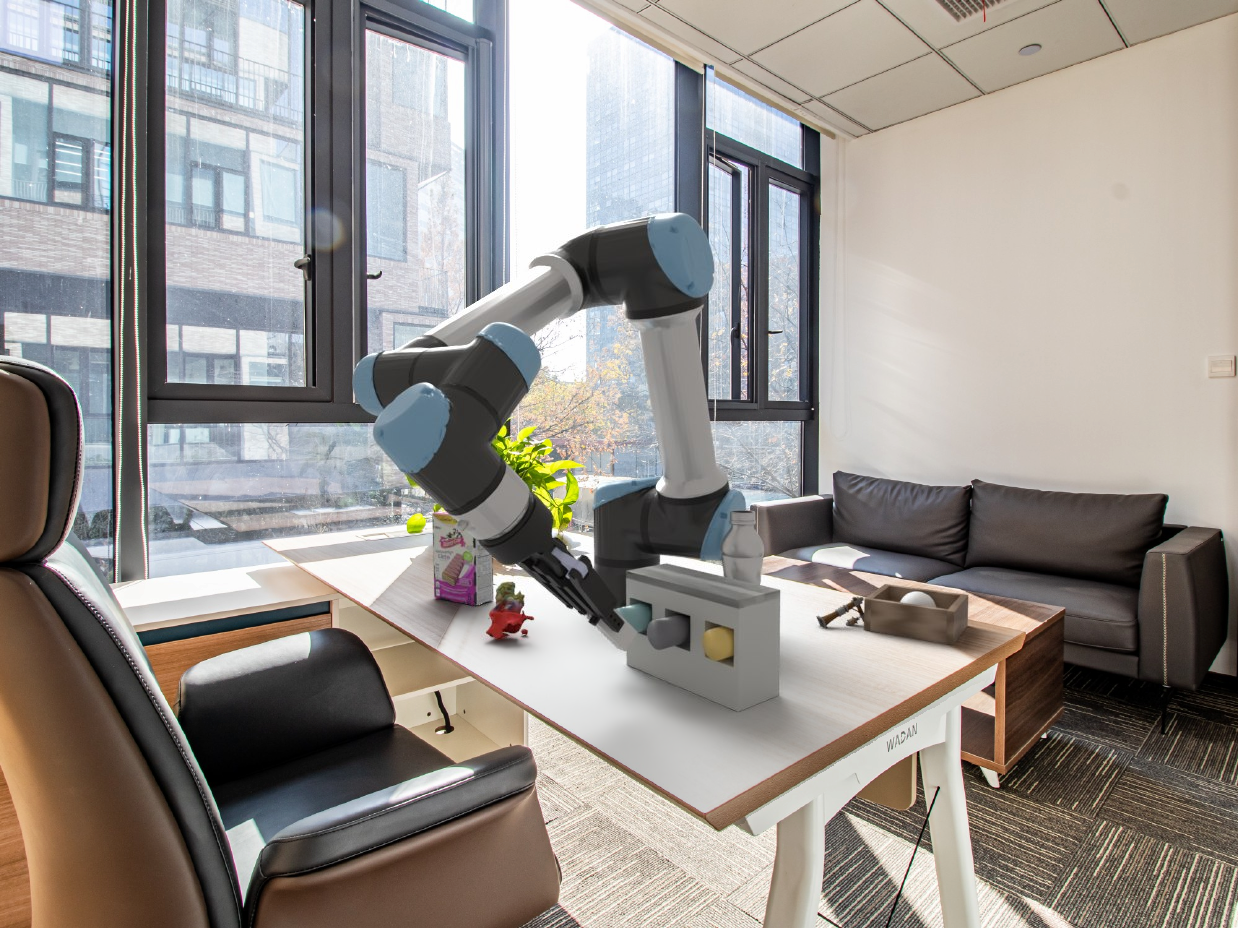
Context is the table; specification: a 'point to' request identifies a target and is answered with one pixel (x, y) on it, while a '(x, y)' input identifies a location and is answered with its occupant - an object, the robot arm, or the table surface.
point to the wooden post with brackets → (842, 610)
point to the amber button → (719, 643)
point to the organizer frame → (916, 614)
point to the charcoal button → (669, 631)
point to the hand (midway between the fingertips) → (627, 640)
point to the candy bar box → (460, 564)
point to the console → (709, 607)
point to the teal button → (637, 615)
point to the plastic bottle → (742, 548)
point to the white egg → (918, 599)
